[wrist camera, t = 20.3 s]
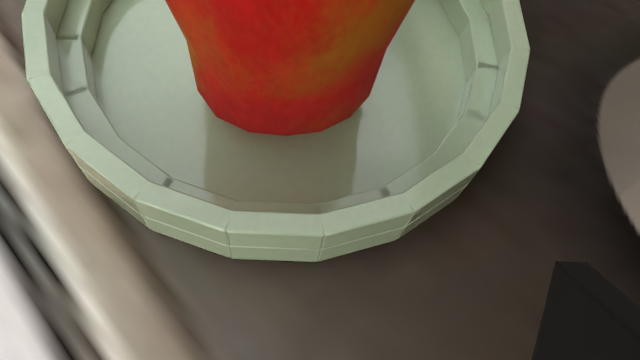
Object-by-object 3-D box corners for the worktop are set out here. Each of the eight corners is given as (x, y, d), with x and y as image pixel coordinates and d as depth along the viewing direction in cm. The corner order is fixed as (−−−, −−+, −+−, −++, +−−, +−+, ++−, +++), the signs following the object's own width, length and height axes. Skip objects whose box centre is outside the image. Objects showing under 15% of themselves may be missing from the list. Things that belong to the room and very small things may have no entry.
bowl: (466, -66, 29) (490, -127, 26) (527, 276, 20) (575, 246, 17) (106, -98, 27) (86, -167, 24) (-1, 257, 18) (-55, 220, 15)
